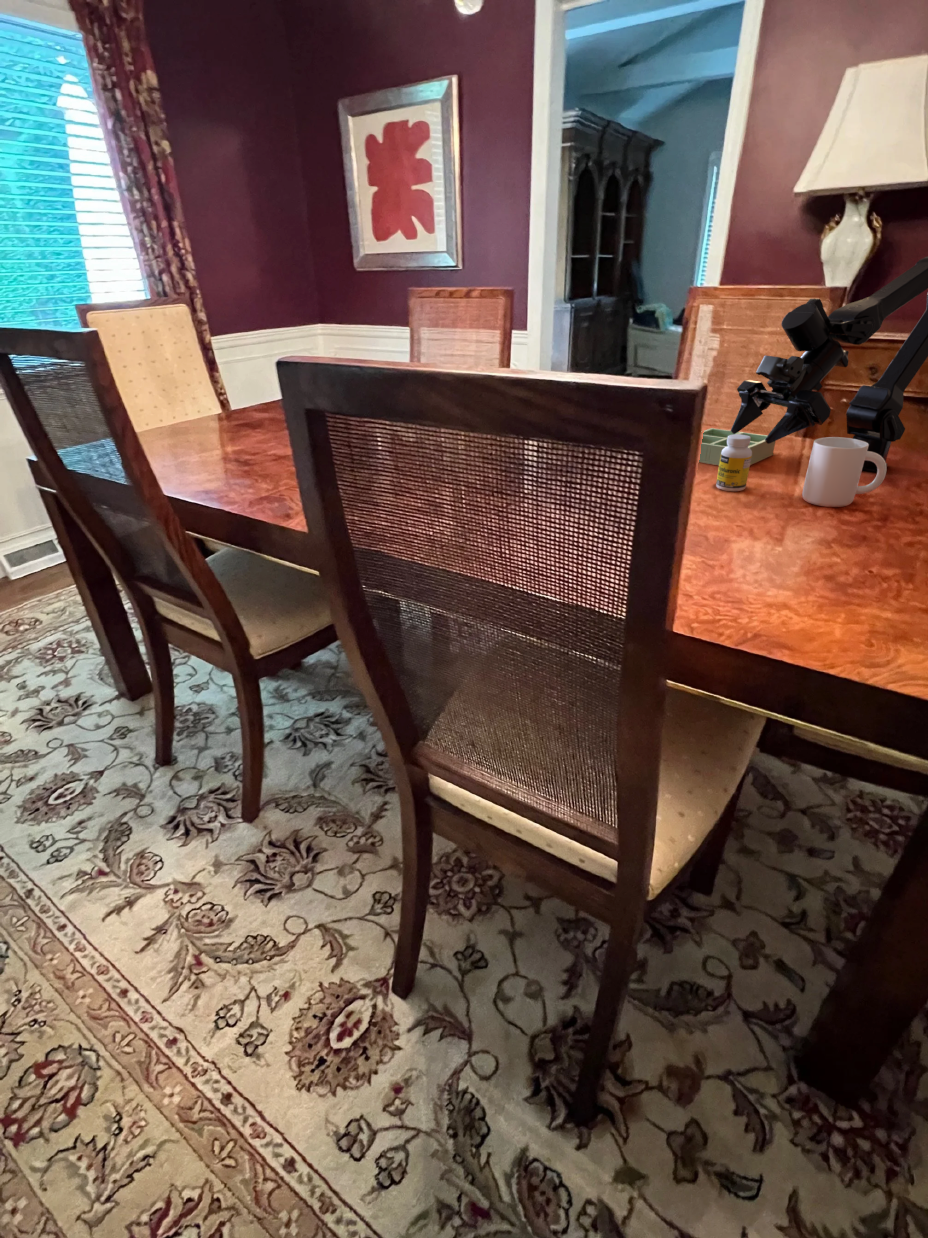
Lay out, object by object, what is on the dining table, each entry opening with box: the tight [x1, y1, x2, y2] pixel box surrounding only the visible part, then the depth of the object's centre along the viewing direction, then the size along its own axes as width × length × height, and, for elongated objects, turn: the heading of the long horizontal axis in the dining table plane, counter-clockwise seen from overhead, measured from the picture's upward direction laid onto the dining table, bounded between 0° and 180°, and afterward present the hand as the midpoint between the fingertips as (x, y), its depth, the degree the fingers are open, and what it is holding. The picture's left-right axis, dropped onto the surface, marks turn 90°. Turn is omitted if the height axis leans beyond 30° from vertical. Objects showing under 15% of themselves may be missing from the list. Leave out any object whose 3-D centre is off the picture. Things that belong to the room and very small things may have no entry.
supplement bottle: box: [715, 434, 752, 492], centre depth 117 cm, size 5×5×10 cm
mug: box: [801, 436, 888, 508], centre depth 108 cm, size 12×8×10 cm
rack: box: [698, 427, 776, 467], centre depth 139 cm, size 15×15×4 cm
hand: (748, 436), depth 116 cm, fingers open, 9 cm apart
